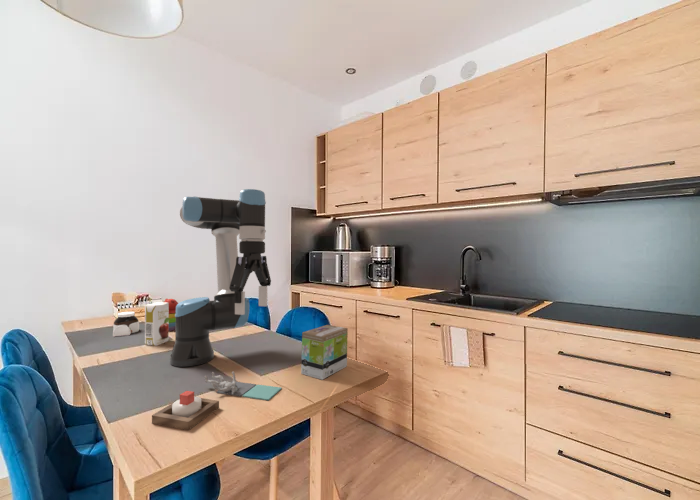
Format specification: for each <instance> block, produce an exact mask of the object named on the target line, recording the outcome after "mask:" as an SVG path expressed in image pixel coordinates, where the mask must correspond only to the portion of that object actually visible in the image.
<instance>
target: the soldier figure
mask: <svg viewBox="0 0 700 500" xmlns="http://www.w3.org/2000/svg"><path fill="white" fill-rule="evenodd" d="M231 374H232V381H233V383H231V381H229V380H227V381H226V380H225V378H224V377H223V375H220V374H219V375H215V372H214V371H212V372H211V379H208V376H207V375H204V380H205V383H208V384H211V386H212V387H213V388H214V389H215V390H217V391H220V392H227V391H230V390H231V391H232V395H231V396H233V394H234V393H236V392H237V391H238V390H239V389H238V387H237V385H236V382H237V379H236V375H235V371H232V372H231ZM218 380H219V381H218Z"/></svg>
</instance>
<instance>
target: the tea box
mask: <svg viewBox="0 0 700 500" xmlns="http://www.w3.org/2000/svg"><path fill="white" fill-rule="evenodd" d="M348 333H349V331H348V328H347V327H343V326H338V325H337V326H336V325H333V324H332V325H331V324H326V325H322V326H319V327H315V328H312V329H309V330H306V331H302V333H301V334H302V335H301V364H300V365H301V366H300V373H301V375H305V376H306V377H311V378H313V379H314V378H315V379H317V380H321V381H322V380H324V379H326V378H328V377H329V376H331V375H333V374H335V373H337V372H339V371H341V370H343V369H345V368H346V367H347V366H348V338H349V337H348V335H349V334H348Z"/></svg>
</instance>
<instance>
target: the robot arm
mask: <svg viewBox="0 0 700 500" xmlns="http://www.w3.org/2000/svg"><path fill="white" fill-rule="evenodd" d="M266 203H267V201H266V194H265V192H264V191H263V190H260V189H254V188H253V189H252V188H246V189H241V190H240V191H239V198H238V200H237V199H222V198H211V197H210V198H209V197H201V196H199V197H198V196H185V197H183V199H182V206H181V208H180V210H179V216H180V219H181V221H182V222H183V223H185V224H186V225H187V226H190V227H193V228H196V229H201V230H202V229H203V230H211V234H212V236H214V237H215V247H216V248H215V251H216V252H215V253H216V254H215V255H216V256H215V257H216V275H217V276H216V279H217V281H216V282H217V292H216V293H215V294H214V296H213V300H210V298H209V297H208V296H204V297H203V296H202V297H200V296H199V297H194V298H189V299H185V300H182V301H180V302H178V304H177V306H176V314H175V317H176V330H174V331H175V334H174V335H175V336H174V337H175V339H174V340H175V341H174V344H173V348H172V351H171V353H170V356H169V364H170V365H171V366H174V367H180V368H182V367H194V366H198V365H203V364H206V363H209V362H210V361H212V360H213V359H214V358H215V357H214V356H215V352H214V349H213V346H212V343H211V340H210V332H211V331H216V330H217V331H218V330H219V331H220V330H226V329H227V330H229V329H235V328H236V329H237V328H242V327H244V326H246V324H247V322H248V321H249V316H250V315H249V314H250V299H249V298H247V297H245V296H246V291H244V289H245V287H246V284H247V282H248V279H249V277H250V275H251V273H253V272H254V274H255V277H256V279H257V281H258V283H259V285H258V307H268V287H270V286H271V284H272V283H271V282H272V280H271V276H270V272H269V271H270V270H269V266H268V262H267V256H266V255H262V254H265V253H266V242H265V241H264V240H265V239H266V232H267V231H266ZM237 237H239V240H241V241H239V251H238V238H237ZM238 253H239V254H243V255H242V256H239V254H238Z"/></svg>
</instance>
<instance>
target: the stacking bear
mask: <svg viewBox="0 0 700 500" xmlns="http://www.w3.org/2000/svg"><path fill="white" fill-rule="evenodd" d="M163 302H166V303H169V332H173V331H175V330H176V317H175V314H176V306H177V304H178V303H179V302H178V301H177V300H176V299H173V298H165V300H164V301H163Z"/></svg>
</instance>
